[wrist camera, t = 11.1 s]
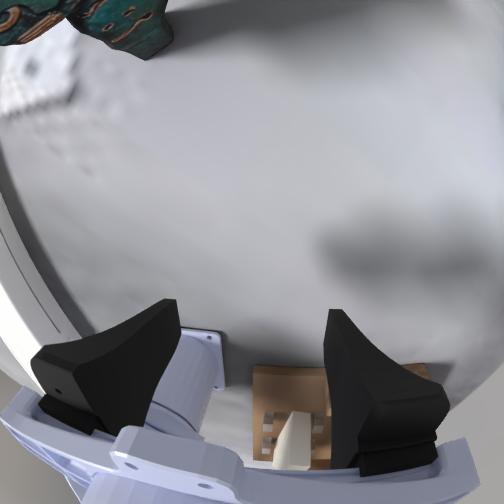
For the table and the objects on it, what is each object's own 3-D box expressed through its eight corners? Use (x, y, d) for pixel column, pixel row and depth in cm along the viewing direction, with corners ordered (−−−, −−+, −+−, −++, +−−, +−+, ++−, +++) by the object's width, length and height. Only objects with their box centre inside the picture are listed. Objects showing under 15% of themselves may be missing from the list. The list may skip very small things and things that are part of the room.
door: (268, 441, 30) (263, 487, 23) (285, 409, 27) (281, 463, 20) (290, 444, 29) (286, 489, 23) (310, 412, 26) (310, 466, 20)
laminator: (-35, 186, 24) (-62, 196, 18) (-11, 134, 21) (-46, 141, 15) (66, 370, 33) (46, 395, 28) (108, 359, 30) (84, 392, 24)
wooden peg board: (254, 453, 33) (249, 482, 29) (254, 364, 26) (246, 405, 21) (372, 452, 31) (375, 479, 26) (423, 362, 24) (438, 397, 19)
